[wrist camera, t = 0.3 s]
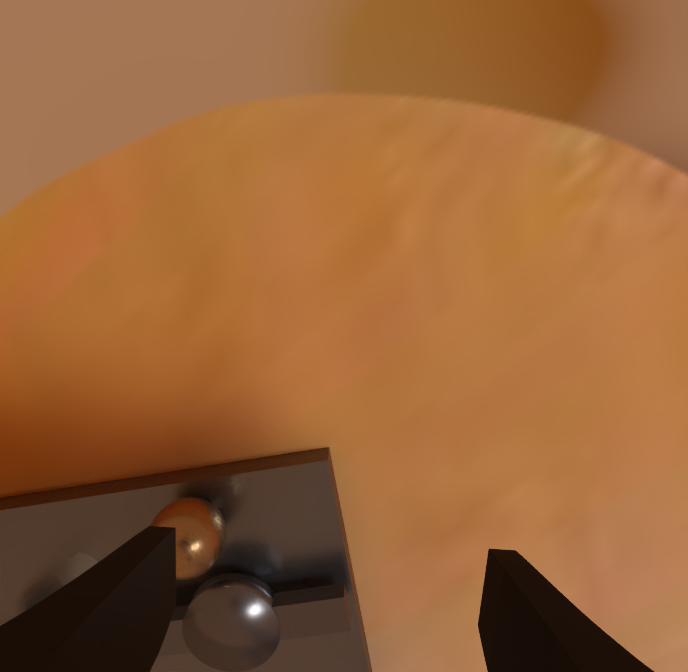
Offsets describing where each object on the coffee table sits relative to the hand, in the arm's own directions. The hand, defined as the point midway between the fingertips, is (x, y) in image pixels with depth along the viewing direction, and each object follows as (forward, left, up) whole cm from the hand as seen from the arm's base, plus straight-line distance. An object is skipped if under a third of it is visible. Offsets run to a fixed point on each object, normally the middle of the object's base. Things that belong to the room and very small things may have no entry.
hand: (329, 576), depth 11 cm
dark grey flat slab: (-10, +9, -10) cm, 17 cm away
